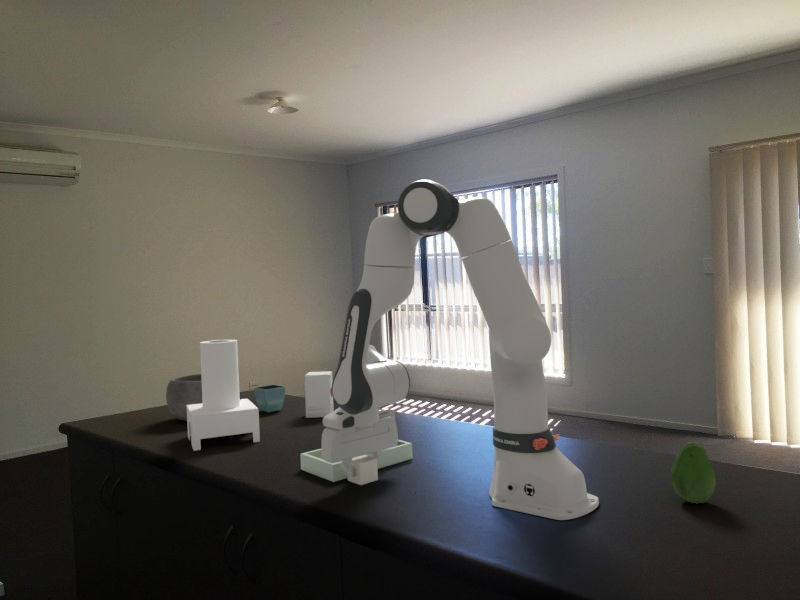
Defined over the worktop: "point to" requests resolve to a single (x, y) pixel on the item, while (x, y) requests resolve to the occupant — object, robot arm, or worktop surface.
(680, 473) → the avocado
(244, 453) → the worktop surface
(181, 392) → the bowl
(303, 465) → the tote
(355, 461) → the cream block
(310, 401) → the supplement box
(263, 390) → the flower pot
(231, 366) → the paper towel holder
